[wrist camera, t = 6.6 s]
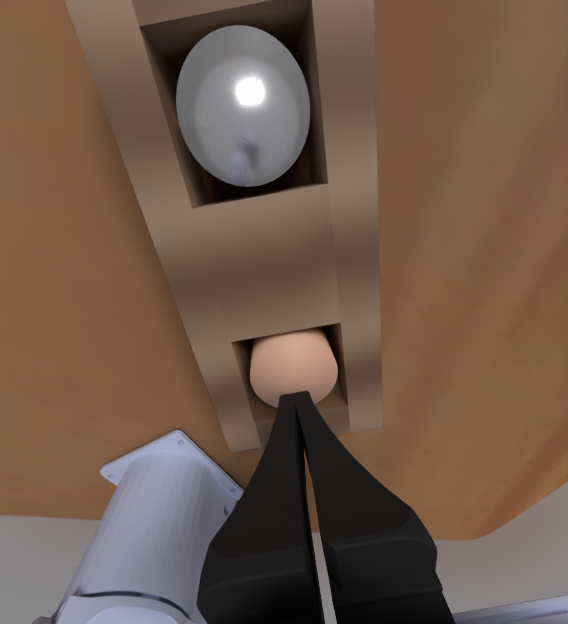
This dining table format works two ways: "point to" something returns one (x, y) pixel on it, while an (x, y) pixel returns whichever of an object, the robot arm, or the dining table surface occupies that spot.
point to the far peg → (292, 365)
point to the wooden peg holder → (255, 198)
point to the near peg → (243, 105)
